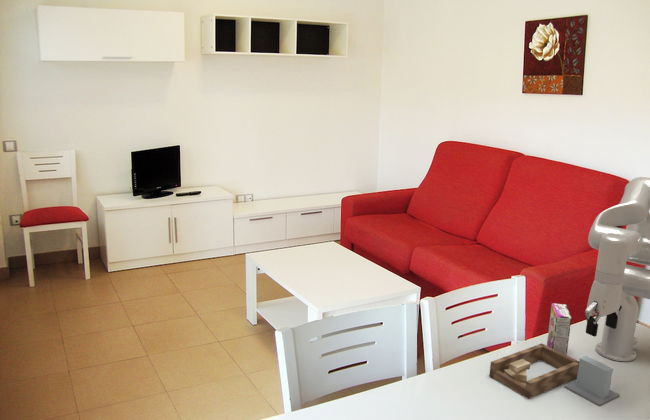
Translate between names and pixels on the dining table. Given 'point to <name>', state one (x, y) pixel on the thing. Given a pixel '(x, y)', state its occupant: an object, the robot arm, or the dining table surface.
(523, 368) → the offcut
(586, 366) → the block
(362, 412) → the dining table surface
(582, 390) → the felt pad
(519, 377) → the offcut
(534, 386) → the tray
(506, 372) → the offcut
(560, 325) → the candy bar box
